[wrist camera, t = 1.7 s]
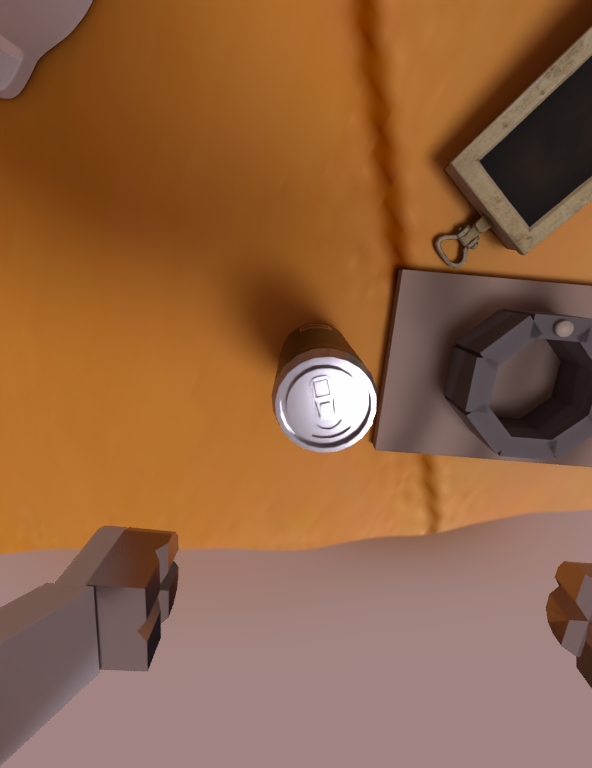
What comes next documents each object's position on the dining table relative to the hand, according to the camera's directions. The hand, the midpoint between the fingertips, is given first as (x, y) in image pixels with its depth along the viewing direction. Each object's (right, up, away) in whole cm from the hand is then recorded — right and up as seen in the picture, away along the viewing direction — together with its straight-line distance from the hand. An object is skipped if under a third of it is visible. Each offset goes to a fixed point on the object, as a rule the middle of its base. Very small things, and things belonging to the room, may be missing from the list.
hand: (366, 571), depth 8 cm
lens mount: (+15, +5, +22) cm, 27 cm away
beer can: (0, +6, +22) cm, 23 cm away
